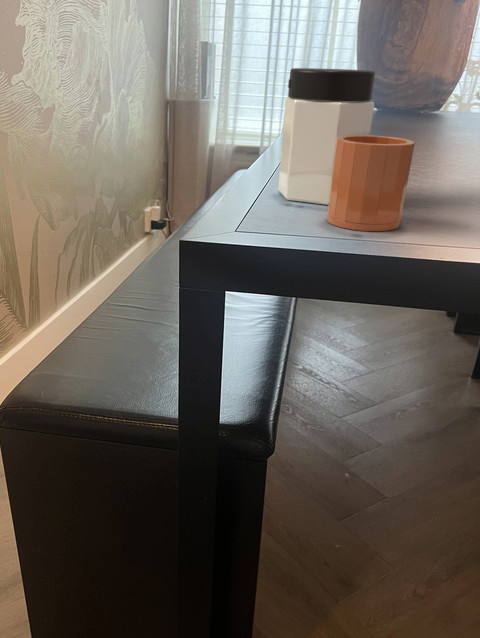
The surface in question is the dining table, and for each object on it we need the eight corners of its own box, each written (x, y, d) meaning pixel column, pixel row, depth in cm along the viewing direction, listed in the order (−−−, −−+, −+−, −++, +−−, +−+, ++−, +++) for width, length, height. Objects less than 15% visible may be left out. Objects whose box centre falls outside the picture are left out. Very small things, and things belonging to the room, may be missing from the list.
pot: (375, 212, 58) (388, 134, 55) (413, 229, 53) (429, 144, 49) (314, 215, 57) (324, 135, 53) (346, 233, 51) (359, 145, 48)
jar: (321, 185, 69) (335, 68, 64) (376, 199, 64) (396, 71, 58) (260, 192, 65) (269, 67, 59) (313, 208, 59) (328, 71, 53)
